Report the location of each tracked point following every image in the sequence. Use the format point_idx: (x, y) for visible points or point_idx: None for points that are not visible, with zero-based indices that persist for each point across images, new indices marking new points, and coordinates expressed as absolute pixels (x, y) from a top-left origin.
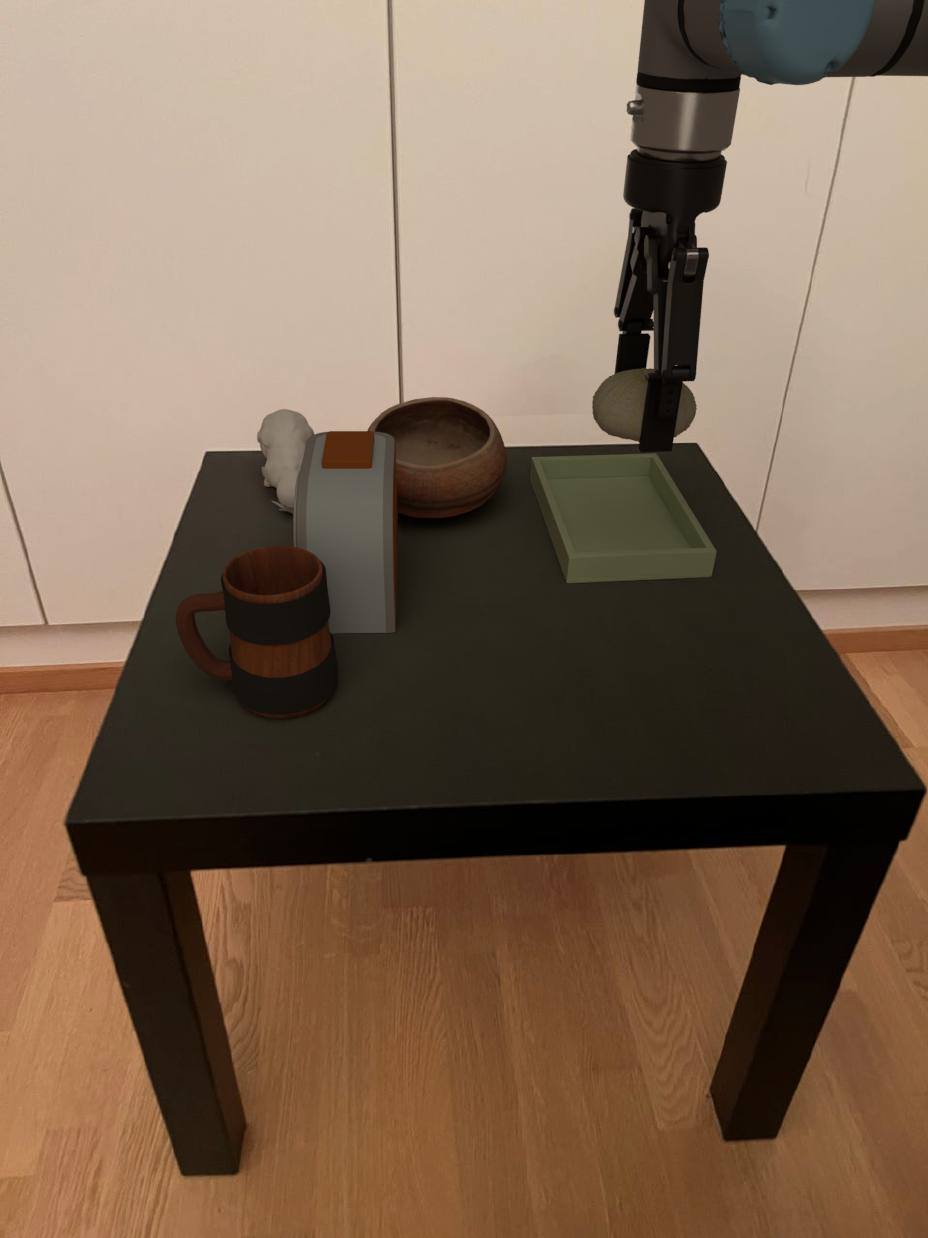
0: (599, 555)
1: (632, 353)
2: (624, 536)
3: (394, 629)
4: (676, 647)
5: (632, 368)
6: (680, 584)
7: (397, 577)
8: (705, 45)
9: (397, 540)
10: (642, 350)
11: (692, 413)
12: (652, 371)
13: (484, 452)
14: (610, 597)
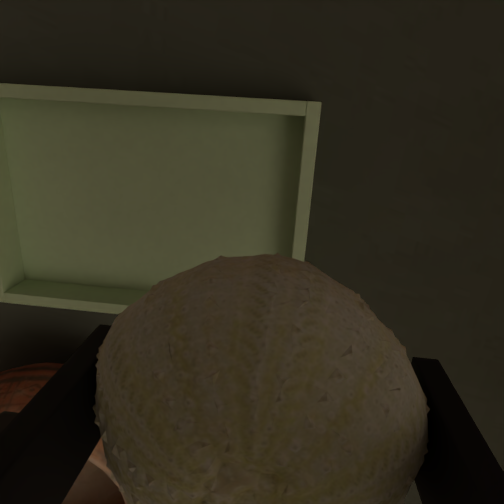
0: None
1: (35, 499)
2: (196, 205)
3: None
4: (471, 222)
5: (67, 441)
6: (327, 160)
7: None
8: None
9: None
10: (19, 477)
11: (360, 310)
12: (198, 476)
13: (96, 453)
14: (338, 268)
